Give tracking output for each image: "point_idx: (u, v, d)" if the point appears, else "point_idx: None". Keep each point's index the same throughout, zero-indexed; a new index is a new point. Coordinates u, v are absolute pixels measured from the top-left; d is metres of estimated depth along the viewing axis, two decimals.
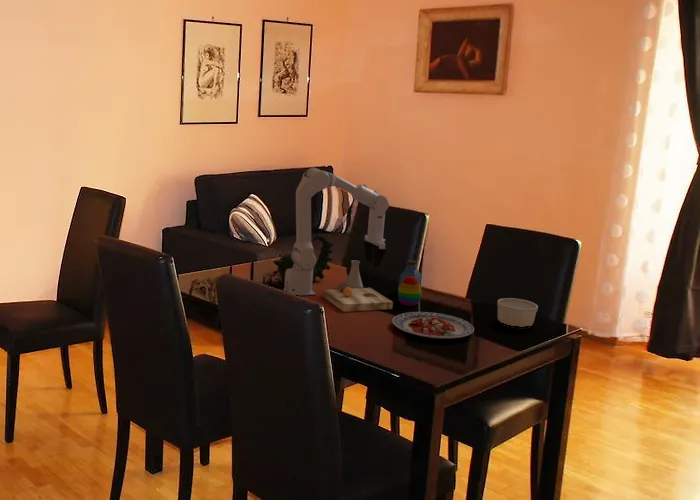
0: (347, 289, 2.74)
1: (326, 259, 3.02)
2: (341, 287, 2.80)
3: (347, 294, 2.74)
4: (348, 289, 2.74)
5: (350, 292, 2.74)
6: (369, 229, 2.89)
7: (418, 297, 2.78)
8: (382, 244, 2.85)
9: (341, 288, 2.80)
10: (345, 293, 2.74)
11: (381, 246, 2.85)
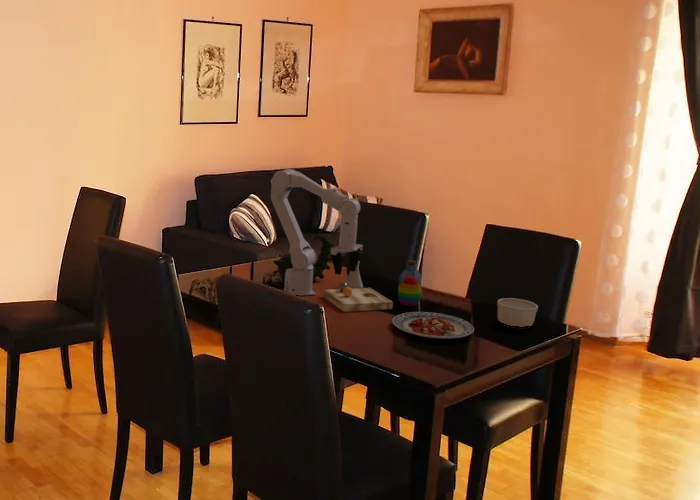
0: (347, 289, 2.74)
1: (326, 259, 3.02)
2: (341, 287, 2.80)
3: (347, 294, 2.74)
4: (348, 289, 2.74)
5: (350, 292, 2.74)
6: None
7: (418, 297, 2.78)
8: (333, 250, 2.72)
9: (341, 288, 2.80)
10: (345, 293, 2.74)
11: (331, 251, 2.72)
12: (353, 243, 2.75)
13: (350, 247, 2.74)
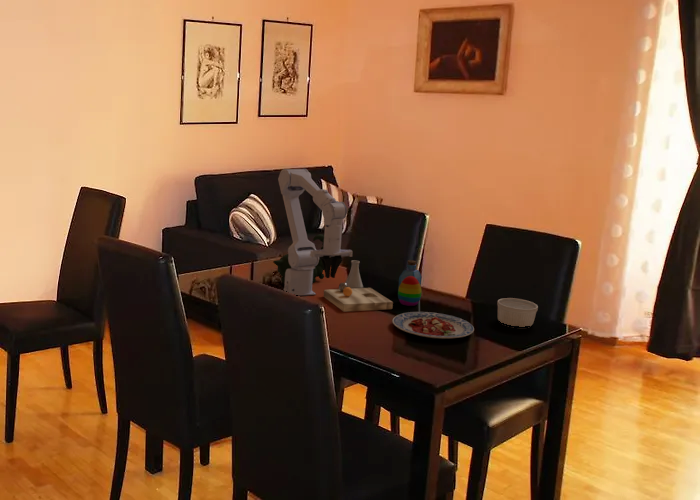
0: (347, 289, 2.74)
1: None
2: (341, 287, 2.80)
3: (347, 294, 2.74)
4: (348, 289, 2.74)
5: (350, 292, 2.74)
6: None
7: (418, 297, 2.78)
8: (311, 252, 2.67)
9: (341, 288, 2.80)
10: (345, 293, 2.74)
11: (310, 254, 2.67)
12: (335, 247, 2.67)
13: (331, 251, 2.67)
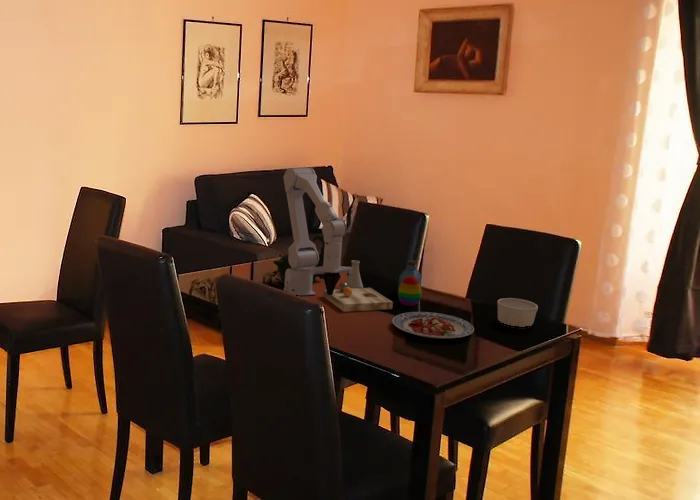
0: (347, 289, 2.74)
1: None
2: (341, 287, 2.80)
3: (347, 294, 2.74)
4: (348, 289, 2.74)
5: (350, 292, 2.74)
6: None
7: (418, 297, 2.78)
8: (311, 269, 2.68)
9: (341, 288, 2.80)
10: (345, 293, 2.74)
11: (310, 271, 2.69)
12: (334, 264, 2.68)
13: (331, 268, 2.68)
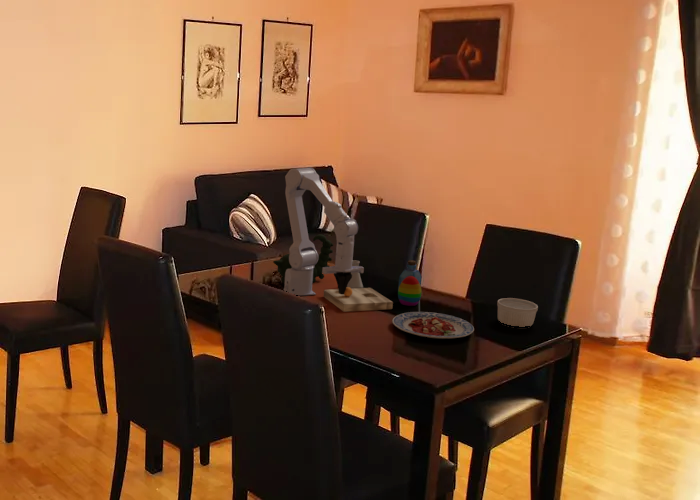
0: (347, 289, 2.74)
1: (326, 259, 3.02)
2: None
3: (347, 294, 2.74)
4: (348, 289, 2.74)
5: (350, 292, 2.74)
6: None
7: (418, 297, 2.78)
8: (323, 269, 2.70)
9: None
10: (345, 293, 2.74)
11: (322, 270, 2.70)
12: (346, 264, 2.70)
13: (343, 268, 2.70)
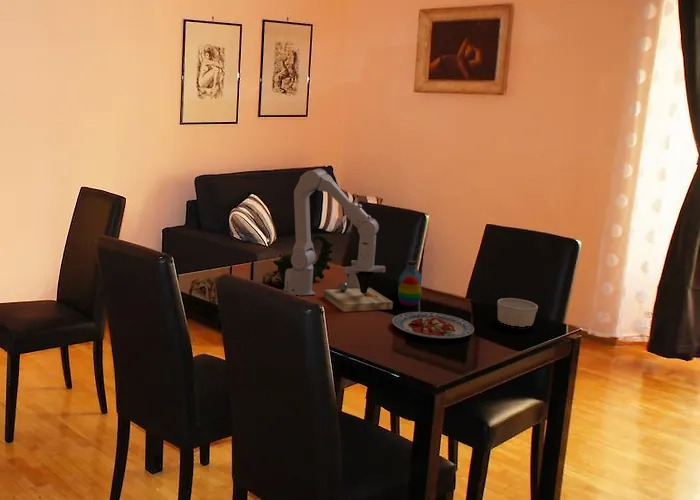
0: (373, 295, 2.79)
1: (326, 259, 3.02)
2: (341, 287, 2.80)
3: None
4: (374, 296, 2.79)
5: None
6: None
7: (418, 297, 2.78)
8: (346, 268, 2.73)
9: (341, 288, 2.80)
10: (369, 296, 2.78)
11: (345, 270, 2.74)
12: (369, 264, 2.73)
13: (365, 267, 2.73)
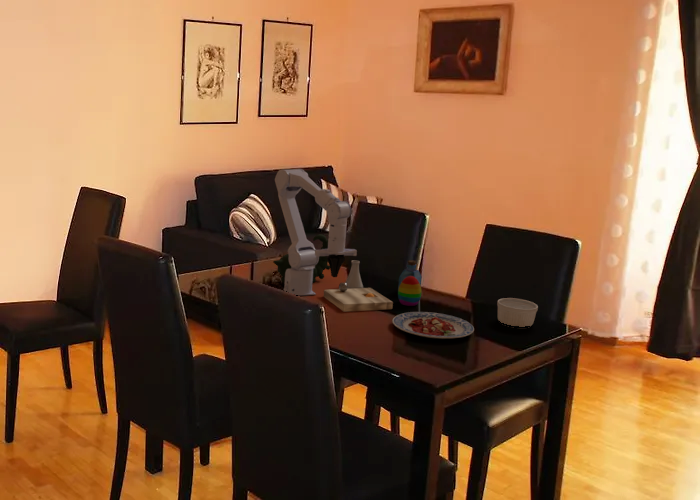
0: (372, 295, 2.79)
1: (326, 259, 3.02)
2: (341, 287, 2.80)
3: None
4: (372, 295, 2.79)
5: None
6: None
7: (418, 297, 2.78)
8: (316, 251, 2.68)
9: (341, 288, 2.80)
10: None
11: (315, 253, 2.69)
12: (339, 246, 2.68)
13: (335, 250, 2.68)
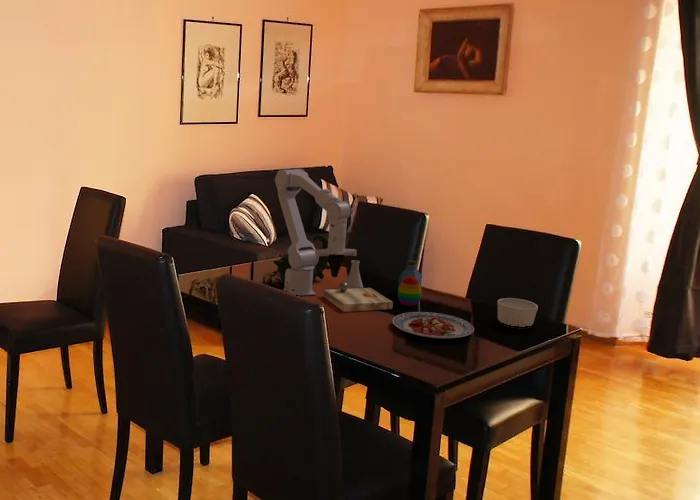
0: (371, 294, 2.79)
1: (326, 259, 3.02)
2: (341, 287, 2.80)
3: None
4: (371, 295, 2.79)
5: None
6: None
7: (418, 297, 2.78)
8: (316, 251, 2.68)
9: (341, 288, 2.80)
10: None
11: (315, 253, 2.69)
12: (339, 246, 2.68)
13: (335, 250, 2.68)
